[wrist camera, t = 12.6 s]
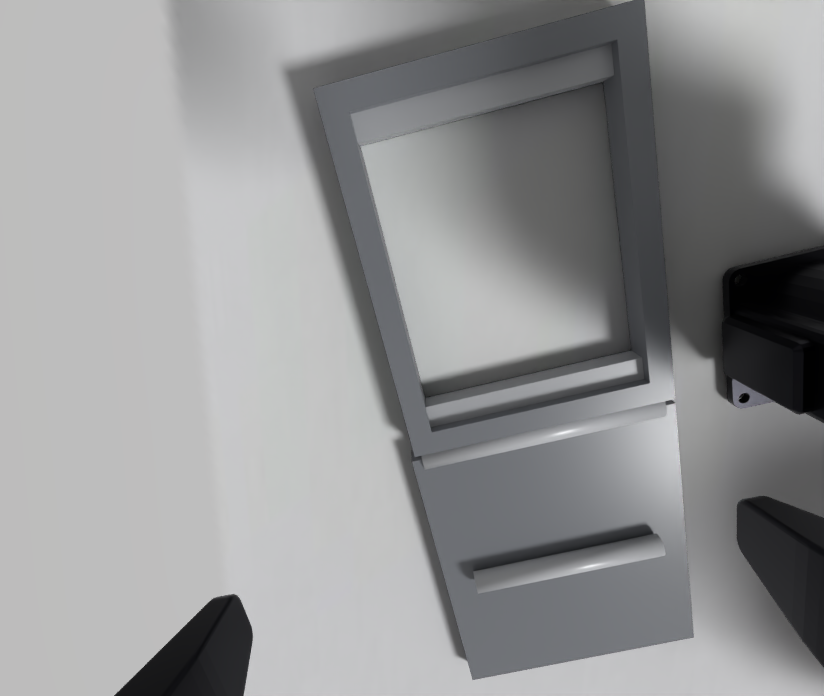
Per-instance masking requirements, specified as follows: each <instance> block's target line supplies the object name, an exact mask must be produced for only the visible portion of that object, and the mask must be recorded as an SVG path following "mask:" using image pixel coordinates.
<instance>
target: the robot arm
mask: <svg viewBox="0 0 824 696" xmlns="http://www.w3.org/2000/svg"><path fill="white" fill-rule="evenodd" d="M738 275H740V277H741V278H740V281H739V282H738V283H737V284H735V278H736V277H737V276H738ZM723 305H724V320H723V322H722V337H723V360H724V373H725V374H726V379H727V398H728V401H729V402H730V403H731V404H733V405H734V406H736V407H738V408H747V407H751V406H756V405H760V404H765V403H770V402H776V403H778V404H780V405H781V406H783V407H785V408H787V409H789V410H790V411H792V412H794V413H796V414H804V413H806V414H808V415H809V416H811V417H813V418H815V419H817V420H819V421H821V422H823V423H824V246H821V247H816V248H812V249H808V250H804V251H800V252H795V253H791V254H787V255H783V256H778V257H774V258H770V259H766V260H762V261H757V262H753V263H749V264H745V265H741V266H736V267H733V268H731V269H729V270H728V271H727V272H726V273H725V275H724V276H723ZM743 393H744V395H743V397H742V398H741V399H739V396H740V395H741V394H743ZM738 399H739V400H738ZM737 542H738V545H739V548H740V550H741V552H742V553H743V555H744V556H745V558H746V559H747V561H748V562H749V564H750V565H751V567H752V568H753V570H754V571H755V573H756V574H757V576H758V577H759V578H760V580H761V581H762V583H763V584H764V586H765V587H766V589H767V590H768V592H769V593H770V595H771V596H772V598H773V599H774V600H775V602H776V603H777V605H778V606H779V608H780V609H781V611H782V612H783V614H784V615H785V617H786V618H787V620H788V621H789V623H790V624H791V625H792V627H793V628H794V630H795V631H796V632H797V634H798V635H799V637H800V638H801V639H802V641H803V642H804V643H805V645H806V646H807V647H808V648H809V650H810V651H811V652H812V654H813V655H814V656H815V657H816V659H817V660H818V661H819V662H820V663H821V665H822V666H823V667H824V518H822V517H820V516H817V515H814V514H812V513H809V512H807V511H804V510H801V509H799V508H796V507H793V506H791V505H788V504H785V503H783V502H780V501H777V500H775V499H772V498H769V497H766V496H758V497H752V498H747V499H742V500H740V501H739V502H738V504H737ZM252 640H253V633H252V627H251V624H250V622H249V619H248V617H247V615H246V612H245V610H244V607H243V605H242V602H241V600H240V598H239V597H238V596H237V595H235V594H230V595H225V596H220V597H216V598H213V599H212V600H211V601H210V602H209V603H208V604H207V605H205V606H204V608H203V609H201V611H199V612H198V613H197V614H196V616H194V617H193V618H192V619H191V620H190V621H189V622H188V623H187V624H186V625H185V626H184V627H183V628H182V629H181V630H180V631H179V632H178V633H177V634H176V635H175V636H174V637H173V638H172V639H171V640H170V641H169V642H168V643H167V644H166V645H165V646H164V647H163V648H162V649H161V650H160V651H159V652H158V653H157V654H156V655H155V656H154V657H153V658H152V659H151V660H150V661H149V662H148V663H147V664H146V665H145V666H144V667H143V668H142V669H141V670H140V671H139V672H138V673H137V674H136V675H135V676H134V677H133V678H132V679H131V680H130V681H129V682H128V683H127V684H126V685H125V686H124V687H123V688H122V689H121V690H120V691H119V692H117V693H116V694H115V695H114V696H244V690H245V684H246V678H247V672H248V666H249V659H250V653H251V647H252Z"/></svg>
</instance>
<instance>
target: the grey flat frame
mask: <svg viewBox="0 0 824 696" xmlns="http://www.w3.org/2000/svg"><path fill="white" fill-rule="evenodd" d="M600 82H603V86H604V95H605V105H606V114H607V124H608V133H609V143H610V152H611V162H612V171H613V181H614V190H615V200H616V209H617V219H618V228H619V238H620V247H621V257H622V266H623V276H624V285H625V294H626V304H627V313H628V323H629V332H630V342H631V351H627V352H623V353H618V354H614V355H610V356H605V357H601V358H597V359H592V360H588V361H584V362H579V363H575V364H571V365H566V366H562V367H558V368H553V369H549V370H545V371H540V372H536V373H532V374H527V375H523V376H519V377H514V378H510V379H506V380H501V381H497V382H493V383H488V384H484V385H480V386H475V387H471V388H467V389H462V390H458V391H453V392H449V393H445V394H440V395H436V396H432V397H427V398H425V396H424V392H423V388H422V384H421V380H420V376H419V373H418V369H417V365H416V361H415V357H414V353H413V349H412V345H411V341H410V337H409V334H408V330H407V326H406V322H405V318H404V314H403V310H402V306H401V302H400V299H399V295H398V291H397V287H396V283H395V279H394V275H393V271H392V267H391V263H390V260H389V256H388V252H387V248H386V244H385V240H384V236H383V232H382V228H381V225H380V221H379V217H378V213H377V209H376V205H375V201H374V197H373V193H372V189H371V186H370V182H369V178H368V174H367V170H366V166H365V162H364V158H363V154H362V151H361V147H360V146H363V145H367V144H370V143H374V142H378V141H382V140H386V139H389V138H393V137H397V136H401V135H404V134H408V133H412V132H416V131H419V130H423V129H427V128H431V127H435V126H438V125H442V124H446V123H450V122H453V121H457V120H461V119H465V118H468V117H472V116H476V115H480V114H484V113H487V112H491V111H495V110H499V109H502V108H506V107H510V106H514V105H517V104H521V103H525V102H529V101H533V100H536V99H540V98H544V97H548V96H551V95H555V94H559V93H563V92H567V91H570V90H574V89H578V88H582V87H585V86H589V85H593V84H597V83H600ZM313 90H314V93H315V97H316V101H317V104H318V108H319V111H320V115H321V119H322V122H323V126H324V130H325V133H326V137H327V140H328V144H329V148H330V151H331V155H332V159H333V162H334V166H335V169H336V173H337V177H338V180H339V184H340V188H341V191H342V195H343V198H344V202H345V206H346V209H347V213H348V217H349V220H350V224H351V227H352V231H353V235H354V238H355V242H356V246H357V249H358V253H359V256H360V260H361V264H362V267H363V271H364V275H365V278H366V282H367V285H368V289H369V293H370V296H371V300H372V304H373V307H374V311H375V314H376V318H377V322H378V325H379V329H380V333H381V336H382V340H383V343H384V347H385V351H386V354H387V358H388V362H389V365H390V369H391V372H392V376H393V380H394V383H395V387H396V391H397V394H398V398H399V401H400V405H401V409H402V412H403V416H404V420H405V423H406V427H407V430H408V434H409V438H410V441H411V445H412V449H413V450H412V464H413V468H414V471H415V475H416V478H417V482H418V486H419V489H420V493H421V496H422V500H423V504H424V507H425V511H426V514H427V518H428V521H429V525H430V529H431V532H432V536H433V539H434V543H435V547H436V550H437V554H438V557H439V561H440V564H441V568H442V572H443V575H444V579H445V582H446V586H447V590H448V593H449V597H450V600H451V604H452V607H453V611H454V615H455V618H456V622H457V625H458V629H459V633H460V636H461V640H462V643H463V647H464V650H465V654H466V658H467V661H468V665H469V668H470V672H471V676H472V679H473V680H475V679H480V678H485V677H491V676H496V675H501V674H506V673H511V672H517V671H522V670H527V669H532V668H537V667H542V666H548V665H553V664H558V663H563V662H568V661H574V660H579V659H584V658H589V657H594V656H600V655H605V654H610V653H615V652H620V651H626V650H631V649H636V648H641V647H646V646H651V645H657V644H662V643H667V642H672V641H677V640H683V639H688V638H693V637H694V634H693V621H692V608H691V595H690V582H689V570H688V557H687V544H686V531H685V518H684V505H683V492H682V479H681V467H680V454H679V441H678V428H677V415H676V403H675V402H673V401H672V400H673V399H675V388H674V375H673V363H672V350H671V337H670V324H669V311H668V298H667V285H666V272H665V259H664V247H663V234H662V221H661V208H660V195H659V182H658V169H657V156H656V143H655V131H654V118H653V105H652V92H651V79H650V66H649V53H648V40H647V27H646V15H645V2H644V0H633V1H630V2H626V3H622V4H619V5H615V6H611V7H608V8H604V9H601V10H597V11H593V12H590V13H586V14H582V15H579V16H575V17H571V18H568V19H564V20H560V21H557V22H553V23H550V24H546V25H542V26H539V27H535V28H531V29H528V30H524V31H520V32H517V33H513V34H509V35H506V36H502V37H499V38H495V39H491V40H488V41H484V42H480V43H477V44H473V45H469V46H466V47H462V48H458V49H455V50H451V51H448V52H444V53H440V54H437V55H433V56H429V57H426V58H422V59H418V60H415V61H411V62H407V63H404V64H400V65H397V66H393V67H389V68H386V69H382V70H378V71H375V72H371V73H367V74H364V75H360V76H356V77H353V78H349V79H346V80H342V81H338V82H335V83H331V84H327V85H324V86H320V87H316V88H313Z"/></svg>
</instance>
